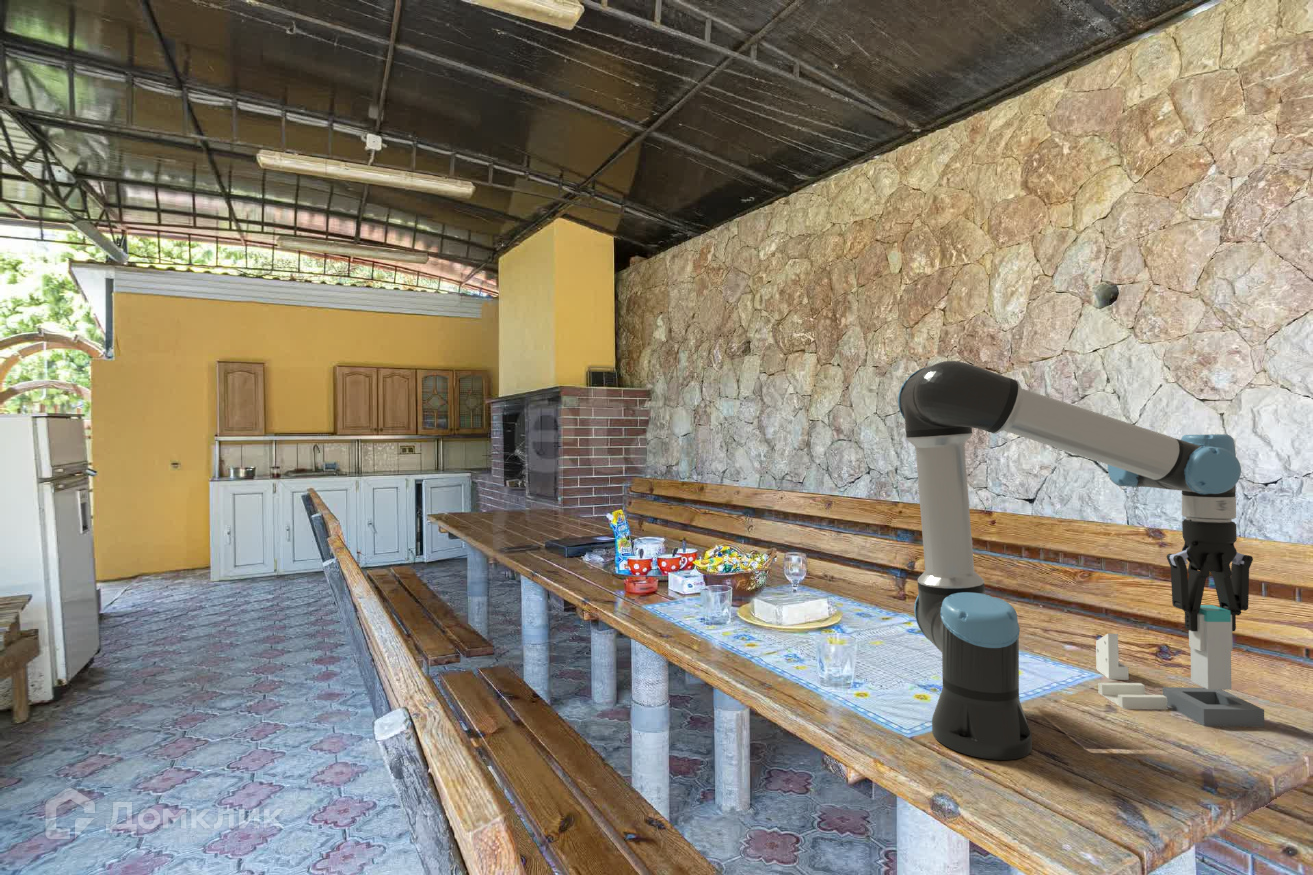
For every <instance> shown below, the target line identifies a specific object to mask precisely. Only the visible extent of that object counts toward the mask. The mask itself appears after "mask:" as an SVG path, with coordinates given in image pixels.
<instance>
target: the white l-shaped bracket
mask: <svg viewBox="0 0 1313 875" xmlns="http://www.w3.org/2000/svg"><path fill="white" fill-rule="evenodd" d="M1095 659H1096V660H1095V666H1096V667H1095V668H1096V670H1097V672H1099V673H1100V674H1102V675H1103V676H1104V677H1106V678H1107V679H1109V680H1119V681H1121V680H1122V681H1123V680H1124V681H1129V680H1130V678H1129V667H1128V666H1127V665H1125V664H1124V663H1122V662H1120V661H1119V634H1118V633H1110V632H1109V633H1107V634H1105V635H1103V636H1102V637H1099V639H1097V640H1096V641H1095Z"/></svg>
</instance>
